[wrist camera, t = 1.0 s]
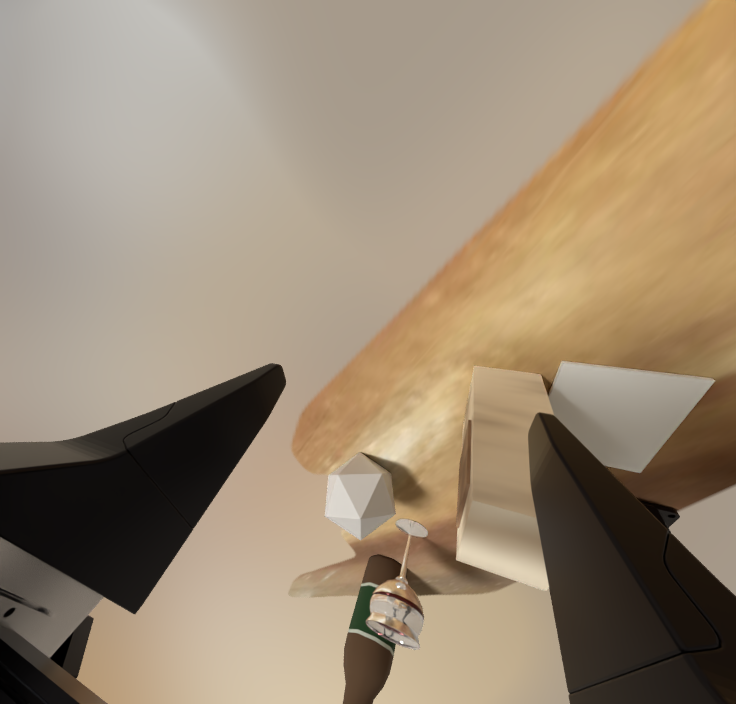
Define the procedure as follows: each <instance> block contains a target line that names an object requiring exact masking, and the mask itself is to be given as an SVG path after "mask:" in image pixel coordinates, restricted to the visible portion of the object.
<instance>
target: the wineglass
mask: <svg viewBox="0 0 736 704" xmlns="http://www.w3.org/2000/svg"><path fill="white" fill-rule="evenodd" d="M396 526H397V528H398V529H399V530H400V531H402V532H403V533H405V534H407V535H409V537H408V541H407V546H406V550H405V555H404V559H403V563H402V568H401V572H400V576H397V577H396V579H393V580H387V581H385V582H383V583H382V584H381V585H379V586H378V587H376V589H375V591H374V592H373V594H372V597H371V600H370V613H371V614H370V616H369V617H368V618H367V620H366V625H367V626H368V627H369V628H370V629H371V630H372V631H374V632H375V633H377V634H378V635H380V636H381V637H383V638H385V639H387V640H389V641H391V642H393V643H395V644H398V645H400V646H402V647H406V648H409V649H414V650H416V649H419V648H420V645H419V640H418V635H419V634H420V632H421V631H422V627H423V620H424V615H423V609H422V606H421V604H420V601H419V599H418V597H417V595H416V593H415V591H414V590H413V589H412V588H411V587H410V586H409V585H408V581H407V579H406V578H405V577H406V570H407V563H408V556H409V549H410V542H411V536H412V537H416V538H424V537H426V536H427V535H428V532H427V530H426V529H425V528H424V527H423V526H422V525H421V524H419V523H417V522H415V521H412V520H408V519H400V520H397V521H396Z"/></svg>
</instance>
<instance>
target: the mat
mask: <svg viewBox="0 0 736 704" xmlns="http://www.w3.org/2000/svg"><path fill="white" fill-rule="evenodd" d="M714 382H715V380H714V379H713V378H707V377H698V376H690V375H681V374H672V373H664V372H655V371H647V370H638V369H629V368H621V367H612V366H603V365H595V364H586V363H577V362H569V361H561V364H560V366H559V369H558V371H557V374H556V376H555V379H554V381H553V384H552V386H551V389H550V391H549V394H548V398H549V401H550V404H551V407H552V410H553V413H554V416H555V417H556V418H557V419H558V420H559V421H560V422H561V423H562V424H563V425H564V426H565V427H566V428H567V429H568V430H569V431H570V432H571V433H572V434H573V435H574V436H575V437H576V438H577V439H578V440H579V441H580V442H581V443H582V444H583V445H584V446H585V447H586V448H587V449H588V450H589V451H590V452H591V453H592V454H593V455H594V456H595V457H596V458H597V459H598V460H599V461H600V462H601V463H602V464H603V465H604V466H608V467H613V468H618V469H623V470H627V471H632V472H637V473H641V472H642V470H643V469H644V468H645V467H646V466H647V464H648V463H649V462H650V461H651V459H652V458H653V457H654V456H655V454H656V453H657V452H658V451H659V450H660V448H661V447H662V446H663V445H664V443H665V442H666V441H667V440H668V438H669V437H670V436H671V435H672V433H673V432H674V431H675V430H676V429H677V427H678V426H679V425H680V424H681V422H682V421H683V420H684V419H685V417H686V416H687V415H688V414H689V413H690V411H691V410H692V409H693V408H694V406H695V405H696V404H697V403H698V401H699V400H700V399H701V398H702V397H703V395H704V394H705V393H706V392H707V390H708V389H709V388H710V387H711V385H712V384H713V383H714Z"/></svg>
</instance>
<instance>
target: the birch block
mask: <svg viewBox="0 0 736 704" xmlns="http://www.w3.org/2000/svg"><path fill="white" fill-rule="evenodd" d="M538 412H542V413H548V414H552V415H554V413H553V410H552V407H551V404H550V401H549V398H548V395H547V392H546V389H545V386H544V383H543V379H542V376H541V374H535V373H528V372H520V371H513V370H505V369H497V368H490V367H482V366H475V365H474V369H473V374H472V379H471V385H470V390H469V395H468V400H467V406H466V411H465V416H464V422H463V438H462V454H461V459H460V467H459V484H458V501H457V518H456V527H458V532H457V551H456V560H457V561H460V562H463V563H466V564H469V565H471V566H474V567H477V568H480V569H483V570H486V571H489V572H492V573H494V574H497V575H500V576H503V577H506V578H509V579H512V580H515V581H517V582H520V583H524V584H526V585H529V586H532V587H535V588H538V589H540V590H543V591H546V590H547V589H548V588H549V584H548V579H547V573H546V568H545V562H544V557H543V551H542V546H541V540H540V535H539V529H538V524H537V518H536V513H535V507H534V502H533V496H532V490H531V483H530V467H529V448H528V432H529V429H530V427H531V424H532V422H533V420H534V417H535V415H536V414H537V413H538Z"/></svg>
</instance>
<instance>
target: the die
mask: <svg viewBox="0 0 736 704" xmlns="http://www.w3.org/2000/svg"><path fill="white" fill-rule="evenodd" d="M395 514H396V512H395V503H394V495H393V486H392V478H391V473H390V472H388V471H387V470H385V469H384V468H383V467H381V466H380V465H378V464H377V463H375V462H374V461H372V460H371V459H369V458H368V457H367V456H365V455H364V454H362V453H361V452H359V453H357V454H356V455H355V456H353V457H352V458H351V459H349V460H348V461H347V462H345V463H344V464H343V465H341V466H340V467H339V468H337V469H336V470H335V471H333V472H332V473H331V474H329V476H328V487H327V498H326V508H325V517H327V518H328V519H329V520H331V521H333V522H334V523H335V524H337V525H339V526H340V527H341V528H343V529H344V530H346V531H347V532H349V533H350V534H352V535H353V536H355V537H356V538H358V539H359V540H362V539H363V538H364V537H366V536H367V535H368V534H370V533H371V532H372V531H374V530H375V529H376V528H378V527H379V526H380V525H382V524H383V523H384V522H386V521H387V520H388V519H390V518H391V517H393V516H394V515H395Z"/></svg>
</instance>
